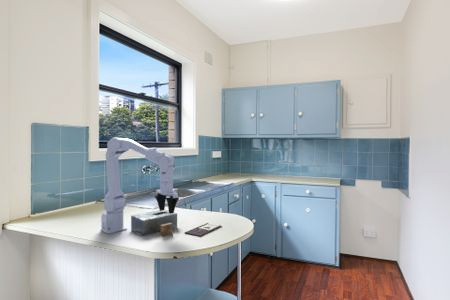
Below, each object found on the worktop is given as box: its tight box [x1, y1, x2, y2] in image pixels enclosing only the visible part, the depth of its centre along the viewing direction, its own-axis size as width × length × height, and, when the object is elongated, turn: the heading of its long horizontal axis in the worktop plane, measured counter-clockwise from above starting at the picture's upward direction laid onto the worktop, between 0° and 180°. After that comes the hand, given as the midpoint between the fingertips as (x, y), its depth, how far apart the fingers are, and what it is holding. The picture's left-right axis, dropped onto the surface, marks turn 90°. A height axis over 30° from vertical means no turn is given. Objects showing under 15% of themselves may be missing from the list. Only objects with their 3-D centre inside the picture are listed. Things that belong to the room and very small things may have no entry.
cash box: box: [130, 209, 178, 237], centre depth 136 cm, size 18×12×7 cm, turn 135°
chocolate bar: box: [184, 222, 222, 238], centre depth 134 cm, size 9×1×18 cm
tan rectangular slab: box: [160, 223, 174, 238], centre depth 127 cm, size 5×2×5 cm, turn 135°
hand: (166, 211), depth 127 cm, fingers open, 7 cm apart
